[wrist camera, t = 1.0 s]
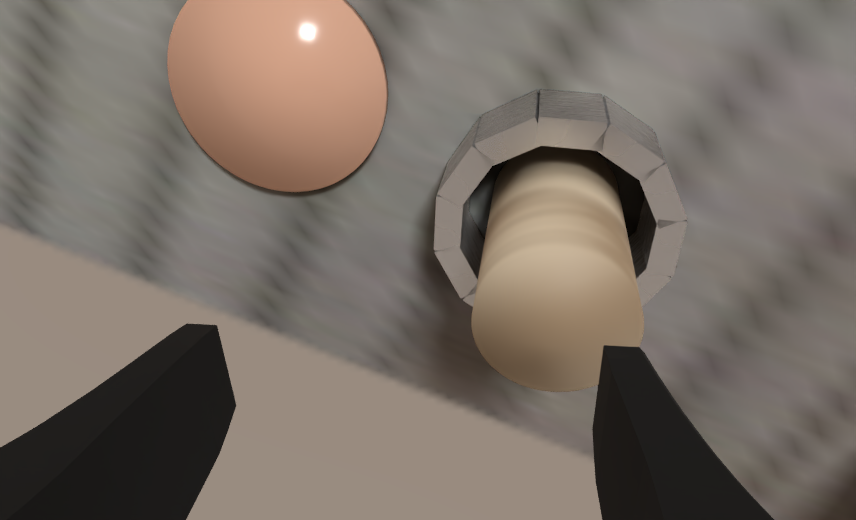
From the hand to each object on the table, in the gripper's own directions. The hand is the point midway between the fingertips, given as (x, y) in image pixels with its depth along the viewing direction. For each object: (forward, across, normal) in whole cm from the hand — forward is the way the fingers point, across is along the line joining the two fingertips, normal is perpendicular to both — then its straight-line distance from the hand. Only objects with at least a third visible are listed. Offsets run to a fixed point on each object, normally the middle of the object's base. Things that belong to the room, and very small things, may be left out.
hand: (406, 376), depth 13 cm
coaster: (+11, +6, -2) cm, 12 cm away
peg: (+10, -3, +1) cm, 11 cm away
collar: (+10, -3, +1) cm, 11 cm away
